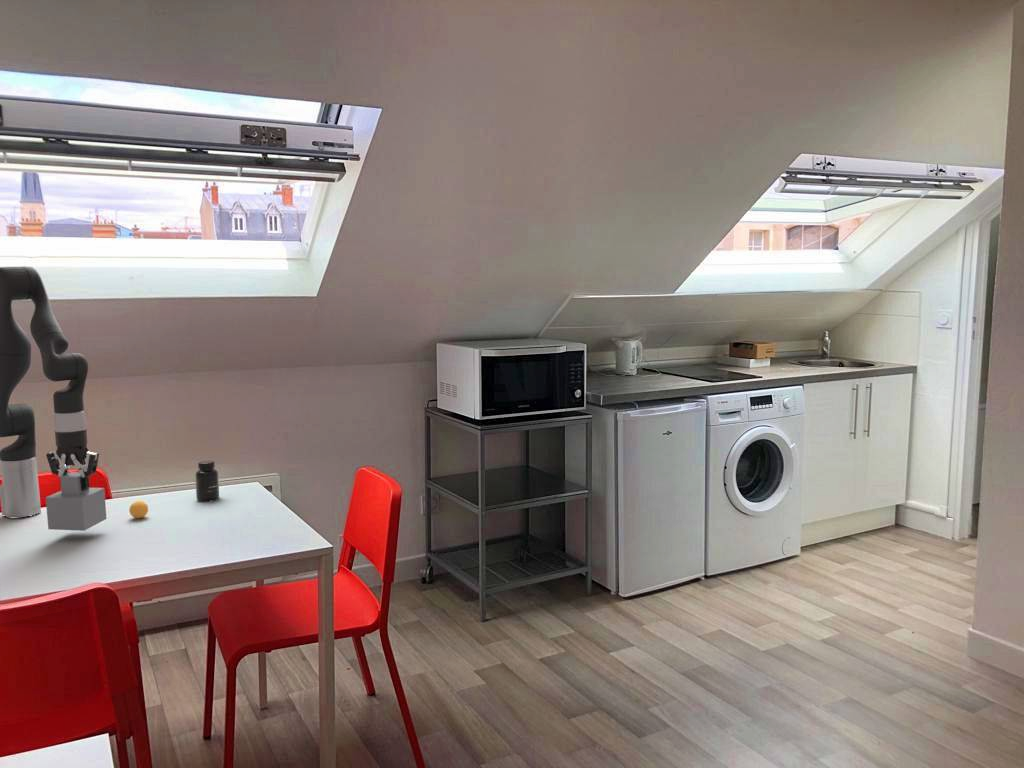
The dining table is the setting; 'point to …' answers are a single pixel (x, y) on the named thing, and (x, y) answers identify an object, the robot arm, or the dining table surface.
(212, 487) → the supplement bottle
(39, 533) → the dining table surface
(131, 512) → the ball
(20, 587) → the dining table surface
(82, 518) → the stepped grey block
